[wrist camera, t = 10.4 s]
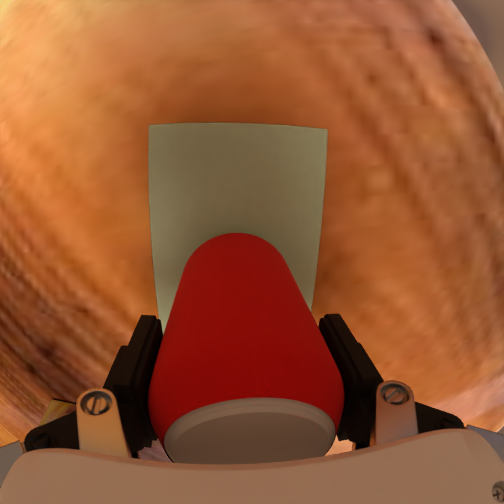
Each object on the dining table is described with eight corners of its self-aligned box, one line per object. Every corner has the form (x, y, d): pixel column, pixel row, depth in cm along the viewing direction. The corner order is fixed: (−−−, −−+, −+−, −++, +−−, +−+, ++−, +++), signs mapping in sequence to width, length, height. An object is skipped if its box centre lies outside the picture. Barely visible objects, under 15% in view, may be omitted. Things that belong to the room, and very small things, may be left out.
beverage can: (305, 256, 18) (403, 408, 6) (253, 334, 19) (280, 502, 8) (214, 208, 16) (188, 341, 5) (168, 295, 18) (117, 467, 7)
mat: (151, 125, 15) (148, 124, 14) (325, 129, 16) (328, 129, 15) (170, 378, 21) (169, 383, 20) (298, 376, 22) (299, 381, 21)
